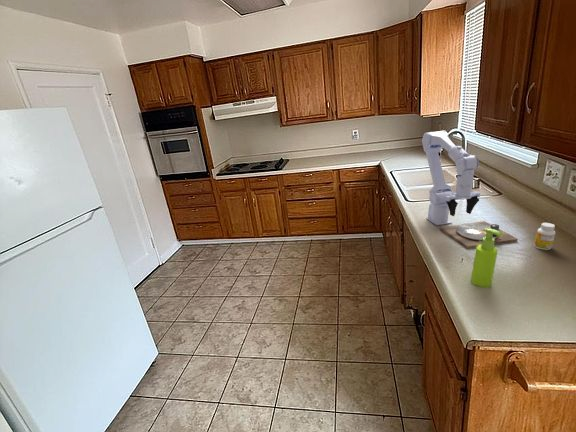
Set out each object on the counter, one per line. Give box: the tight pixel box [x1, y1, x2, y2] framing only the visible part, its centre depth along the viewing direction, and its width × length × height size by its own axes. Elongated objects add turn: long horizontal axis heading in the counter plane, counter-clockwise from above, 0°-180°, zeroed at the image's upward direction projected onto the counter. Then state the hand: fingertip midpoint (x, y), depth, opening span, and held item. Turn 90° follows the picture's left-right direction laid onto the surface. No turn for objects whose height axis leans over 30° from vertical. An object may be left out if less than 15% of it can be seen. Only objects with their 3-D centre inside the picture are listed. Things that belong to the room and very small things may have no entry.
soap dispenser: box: [470, 228, 505, 288], centre depth 99 cm, size 6×7×20 cm
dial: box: [456, 222, 500, 241], centre depth 131 cm, size 16×16×5 cm
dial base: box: [439, 220, 519, 250], centre depth 132 cm, size 19×22×2 cm
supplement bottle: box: [533, 222, 556, 251], centre depth 117 cm, size 5×5×10 cm
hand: (460, 214), depth 132 cm, fingers open, 7 cm apart
